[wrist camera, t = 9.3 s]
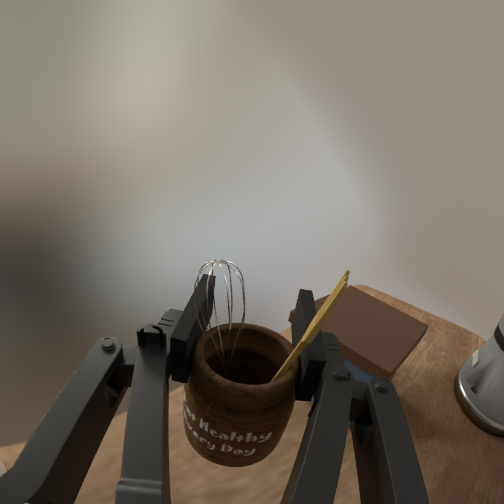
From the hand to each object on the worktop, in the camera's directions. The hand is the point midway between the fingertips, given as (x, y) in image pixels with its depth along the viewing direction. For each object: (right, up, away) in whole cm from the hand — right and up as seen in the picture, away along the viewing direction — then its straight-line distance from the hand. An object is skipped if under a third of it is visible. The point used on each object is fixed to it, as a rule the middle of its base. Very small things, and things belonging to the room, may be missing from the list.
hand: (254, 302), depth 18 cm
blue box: (+10, -12, +12) cm, 19 cm away
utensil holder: (-1, -8, -2) cm, 9 cm away
